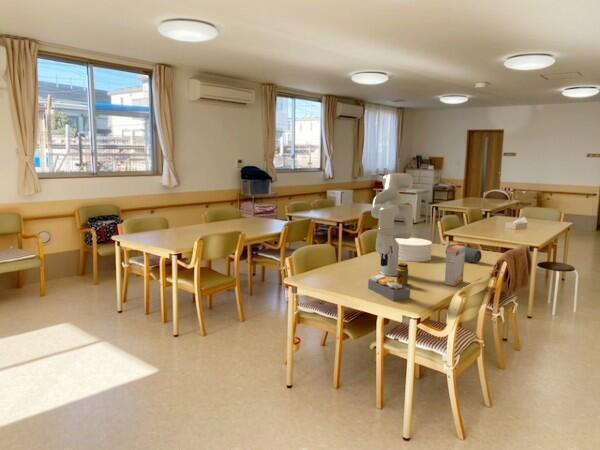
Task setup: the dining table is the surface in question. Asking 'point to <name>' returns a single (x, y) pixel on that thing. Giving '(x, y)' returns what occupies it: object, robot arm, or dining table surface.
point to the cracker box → (454, 265)
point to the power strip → (389, 291)
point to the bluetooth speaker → (470, 254)
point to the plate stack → (414, 249)
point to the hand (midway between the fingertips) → (384, 265)
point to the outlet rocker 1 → (378, 277)
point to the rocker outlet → (394, 285)
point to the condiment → (402, 274)
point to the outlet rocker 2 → (384, 281)
